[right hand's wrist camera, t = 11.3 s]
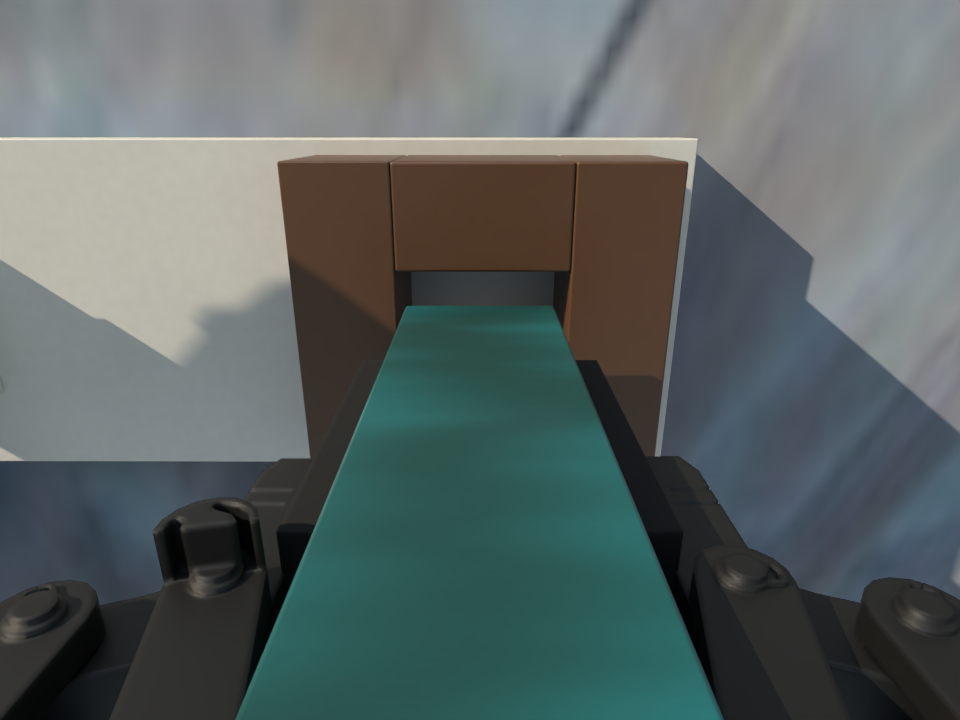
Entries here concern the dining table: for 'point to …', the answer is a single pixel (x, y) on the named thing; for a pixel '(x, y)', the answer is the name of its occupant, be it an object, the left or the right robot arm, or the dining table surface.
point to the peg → (479, 550)
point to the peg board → (187, 294)
